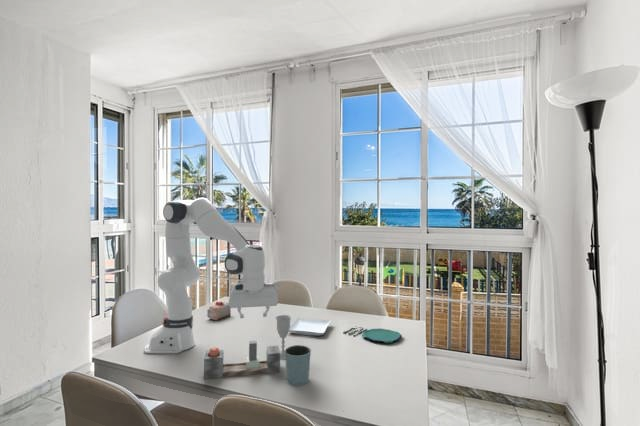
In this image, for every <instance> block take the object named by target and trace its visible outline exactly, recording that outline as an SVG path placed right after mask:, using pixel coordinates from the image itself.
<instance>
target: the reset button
mask: <svg viewBox="0 0 640 426" xmlns="http://www.w3.org/2000/svg"><path fill="white" fill-rule="evenodd" d="M219 350H220V348H219V347H211V348H209V350H208V351H209V357H212V356H219Z"/></svg>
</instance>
